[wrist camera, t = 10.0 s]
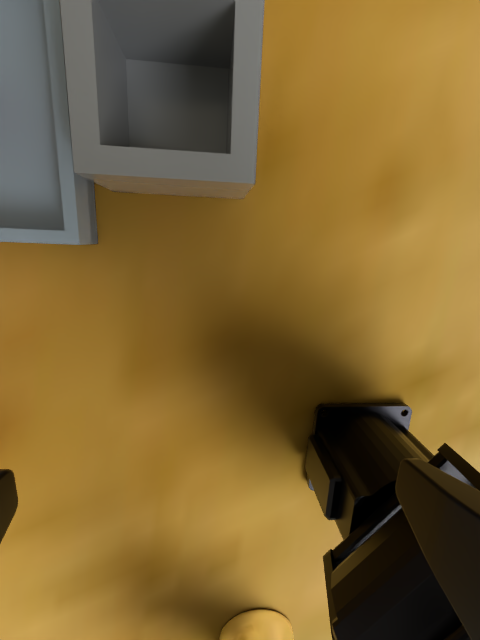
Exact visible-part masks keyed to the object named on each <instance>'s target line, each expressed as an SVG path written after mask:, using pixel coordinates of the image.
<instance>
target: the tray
mask: <svg viewBox="0 0 480 640" xmlns="http://www.w3.org/2000/svg"><path fill="white" fill-rule="evenodd" d="M0 242H23V243H48V244H73V245H85V244H98V235H97V220H96V206H95V191H94V182H93V181H90V180H88V179H86V178H84V177H82V176H80V175H78V174H76V173H74V165H73V153H72V141H71V129H70V117H69V104H68V92H67V80H66V68H65V56H64V44H63V32H62V20H61V7H60V0H0Z"/></svg>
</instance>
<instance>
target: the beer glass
mask: <svg viewBox="0 0 480 640" xmlns="http://www.w3.org/2000/svg"><path fill="white" fill-rule="evenodd" d="M219 640H294V636H293V630H292V626H291V624H290V622H289V621H288V619H287V618H286V617H284V616H283V615H282V614H280V613H278V612H275V611H272V610H267V609H256V610H250V611H246V612H243V613H241V614H239V615H237V616H235V617H234V618H232V619H231V620H230V621H229V622H228V623H227V624H226V625H225V626H224V628H223V629H222V631H221V634H220V638H219Z"/></svg>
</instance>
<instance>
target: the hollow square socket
mask: <svg viewBox="0 0 480 640" xmlns="http://www.w3.org/2000/svg"><path fill="white" fill-rule="evenodd" d="M60 7H61V20H62V32H63V44H64V56H65V68H66V80H67V92H68V104H69V117H70V129H71V141H72V153H73V165H74V173H76V174H78V175H80V176H82V177H84V178H86V179H88V180H90V181H93V182H95V183H97V184H99V185H101V186H103V187H105V188H107V189H109V190H111V191H113V192H125V193H143V194H161V195H179V196H196V197H214V198H232V199H243V198H244V197H245V196H246V195H247V193H248V192H249V191H250V190H251V188H252V187H253V186H254V185H255V177H256V157H257V137H258V117H259V98H260V78H261V58H262V38H263V18H264V0H60Z"/></svg>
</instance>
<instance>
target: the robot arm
mask: <svg viewBox="0 0 480 640" xmlns="http://www.w3.org/2000/svg"><path fill="white" fill-rule="evenodd" d="M324 410H326V412H325V413H324V414H321V412H322V411H324ZM403 410H404V412H403V413H401V412H402V411H403ZM411 414H412V410H411V408H410V407H409V406H407V405H406V404H404V403H352V404H320V405H318V406H317V407H316V409H315V416H314V424H313V433H312V434H311V435H310V436H309V438H308V446H307V455H306V464H305V469H306V472H307V474H308V477H307V483H308V486H309V488H310V489H311V490H313V491H315V494H316V496H317V499H318V501H319V503H320V506H321V508H322V511H323V513H324V516H325V517H326V518H327V519H328V520H335V522H336V524H337V526H338V529H339V531H340V533H341V535H342V538H343V541H342V542H341V543H340V544H339V545H338V546H337V547H336V548H335V549H334V550H332V549H330V550H329V551H328V552H327V553H326V554H325V555H324V556H323V562H324V571H325V580H326V589H327V598H328V607H329V617H330V626H331V634H332V640H480V473H479V472H478V471H477V470H476V469H475V468H473V467H472V466H471V465H470V464H469V463H468V462H467V461H465V460H464V459H463V458H462V457H461V456H460V455H459V454H457V453H456V452H455V451H454V450H453V449H452V448H450V447H449V446H448V445H447V444H446V443H444V444H443V445H442V446H441V447H440V448H439V449H438V451H439V452H438V453H437V454H436V455H435V456H434V455H433V454H432V453H431V452H430V451H429V450H428V449H427V448H426V447H425V446H424V445H422V444H421V443H420V442H419V441H418V440H417V439H416V438H415V437H414V436H413V435H412V434H411V433H410V432H409V431H408V429H409V424H410V419H411ZM17 505H18V496H17V490H16V484H15V477H14V473H13V472H12V470H9V469H0V543H1V541H2V539H3V537H4V535H5V533H6V531H7V529H8V527H9V525H10V523H11V521H12V518H13V516H14V514H15V512H16V509H17Z"/></svg>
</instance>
